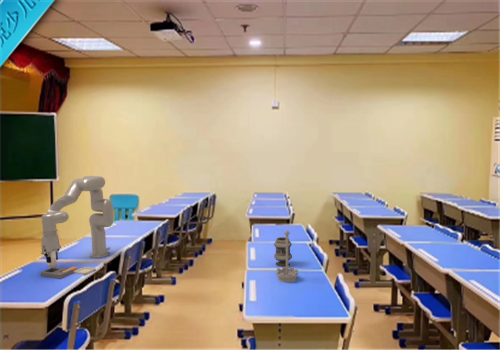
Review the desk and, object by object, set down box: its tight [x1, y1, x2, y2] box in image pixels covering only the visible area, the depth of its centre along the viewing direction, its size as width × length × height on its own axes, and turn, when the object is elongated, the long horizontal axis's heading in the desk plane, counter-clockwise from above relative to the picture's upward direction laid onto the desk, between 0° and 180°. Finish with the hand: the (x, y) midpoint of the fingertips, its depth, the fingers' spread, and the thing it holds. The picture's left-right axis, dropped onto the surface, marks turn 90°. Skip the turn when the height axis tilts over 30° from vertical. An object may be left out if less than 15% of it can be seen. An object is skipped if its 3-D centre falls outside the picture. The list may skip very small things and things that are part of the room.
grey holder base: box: [40, 266, 74, 280], centre depth 235 cm, size 10×16×3 cm, turn 70°
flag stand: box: [275, 230, 299, 283], centre depth 225 cm, size 13×13×30 cm
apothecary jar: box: [273, 236, 293, 268], centre depth 252 cm, size 12×12×18 cm
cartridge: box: [48, 249, 58, 269], centre depth 237 cm, size 5×5×12 cm
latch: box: [62, 266, 78, 273], centre depth 239 cm, size 10×3×2 cm, turn 160°
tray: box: [73, 266, 96, 276], centre depth 241 cm, size 9×9×2 cm
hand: (52, 260), depth 237 cm, fingers closed on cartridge, 4 cm apart
